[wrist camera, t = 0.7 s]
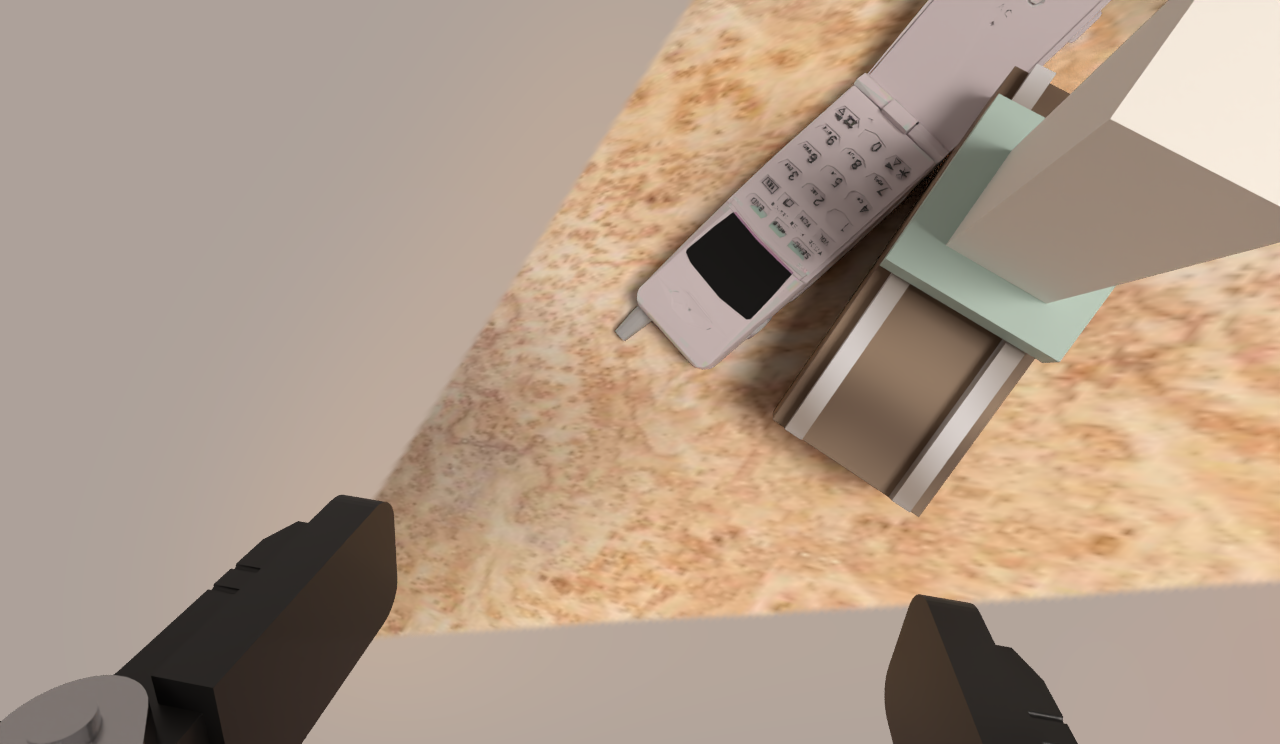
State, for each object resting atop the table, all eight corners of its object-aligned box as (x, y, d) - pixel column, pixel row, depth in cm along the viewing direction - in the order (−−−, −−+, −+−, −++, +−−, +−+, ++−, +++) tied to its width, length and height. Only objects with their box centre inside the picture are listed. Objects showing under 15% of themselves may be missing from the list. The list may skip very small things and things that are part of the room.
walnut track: (970, 123, 32) (1022, 56, 25) (1106, 196, 30) (1198, 145, 24) (773, 411, 33) (772, 421, 27) (893, 490, 32) (923, 521, 26)
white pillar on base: (985, 110, 25) (1222, -190, 12) (1160, 202, 24) (1644, -15, 10) (879, 265, 26) (987, 149, 12) (1042, 362, 24) (1355, 348, 11)
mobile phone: (1135, -17, 25) (663, 408, 29) (1069, 58, 31) (683, 404, 35) (1020, -114, 26) (577, 310, 30) (977, -24, 32) (610, 322, 36)
